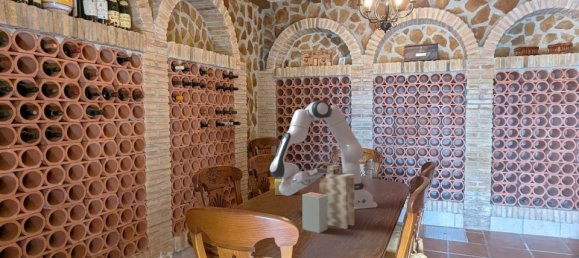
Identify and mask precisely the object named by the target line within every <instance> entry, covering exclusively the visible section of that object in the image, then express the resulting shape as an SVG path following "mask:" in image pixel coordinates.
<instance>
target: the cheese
mask: <svg viewBox="0 0 579 258" xmlns="http://www.w3.org/2000/svg"><path fill="white" fill-rule="evenodd" d="M282 179H283V178H275V179H274V192H275V193H274V195H283V194H282V193H281V192H280V191H279V185H280V184H281V182H282ZM283 196H284V195H283Z"/></svg>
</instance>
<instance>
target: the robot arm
mask: <svg viewBox="0 0 579 258" xmlns="http://www.w3.org/2000/svg"><path fill="white" fill-rule="evenodd" d="M320 120H324V121H325V122H326V125H327V127H328V128H329V130H330V132H331V133H332V136H333V137H334V139H335V141H336V142H337V144H338V146H339V147H340V157H341V166H342V168H341V171H342V172H341V173H349V174H354V210H359V209H360V210H361V209H370V208H371V209H372V208H377V207H378V203H377V202H375V201H374V197H373V195H372V193H370V192H369V191H368V190H366V189H365V188H366V187H367V184H365V183H363V182H361V181H362V180H361V178H362V175H361V174H362V172H361V170H362V169H361V165H360V160H361V159H363V156H364V148H363V147H362V145H361V143H360V142H359V141H358V138H357V137H356V135H355V134H354V133H353V131H352V129H351V127H350V125H349V123H348V122H347V120H346V117H345V116H344V114H343V113H342V110H340V109H339V107H338V106H337V105H333V104H332V105H330V104H329V103H327V101H324V100H320V99H319V100H315V101H313V102H311V103H310V104H308V105H306V106H305V107H304V109H303V108H301V109H297V110H295V112H294V113H293V115H292V118H291V121H290V125H289V128H288V130H287V132H286V133H284V134H283V135H282V137H281V139H280V142H279V144H278V147H277V150H276V153H275V155H274V158H273V160H272V161H271V163H270V165H269V172H270V174H271V176H272V177H273V178H275V179H282V182H281V184H280V185H279V191H280V192H281V193H282V194H283V196H292V195H294V194H296V193H297V192H298V191H299V190H300V191H301V190H303V189H305V188H306V187H308V186H309V185H311V184H314V183H315V181H316V180H319V178H320V177H323V176H324V175H325V173H317V172H318V171H319V170H318V169H314V168H313V169H314V170H312V169H311V170H308V171H307V170H306V171H300V167H299V166H298V165H297V164H295V163H292V162H287V161H285V158H286V155H287V153H288V149H289V148H290V147H291V145H294V144H298V143H302V142H303V141H305V140H306V139H307V137H308V134H309V128H310V124H311V122H315V121H316V122H317V121H320Z"/></svg>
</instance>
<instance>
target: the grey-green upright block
mask: <svg viewBox="0 0 579 258" xmlns="http://www.w3.org/2000/svg"><path fill="white" fill-rule="evenodd" d="M301 195H302V197H301V198H302V199H301V200H302V206H301V208H302V209H301V210H302V212H301V213H302V215H301V216H302V217H301V218H302V224H301V225H302V226H301V227H302V230H305V231H310V232H313V233H318V234H320V233H321V234H322V233H323V232H325V231H326V230H328V225H327V195H324V194H320V192H318V193H317V192H313V191H311V192H310V191H309V192H308V193H303V194H301Z"/></svg>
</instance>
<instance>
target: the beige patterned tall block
mask: <svg viewBox="0 0 579 258" xmlns="http://www.w3.org/2000/svg"><path fill="white" fill-rule="evenodd" d="M341 166H342V164H341V165H340V164H337V165H332V166H328V167H326V168H327V173H325V178H326V195H327V226H332V227H335V228H340V229H345V230H348V227H349V226H351V227H352V226H355V209H354V174H349V173H342V172H341V171H342V168H341ZM335 169H338V173H334V170H335Z"/></svg>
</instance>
